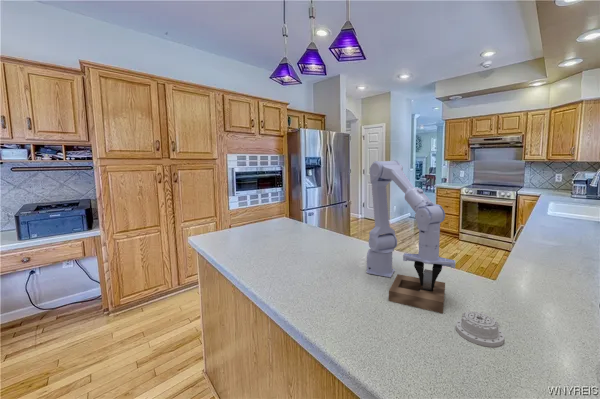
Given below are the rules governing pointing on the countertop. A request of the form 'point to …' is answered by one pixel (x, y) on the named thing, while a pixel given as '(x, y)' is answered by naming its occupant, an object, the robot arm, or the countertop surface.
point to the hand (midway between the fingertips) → (427, 285)
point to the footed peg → (427, 280)
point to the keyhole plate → (417, 293)
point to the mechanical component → (480, 329)
